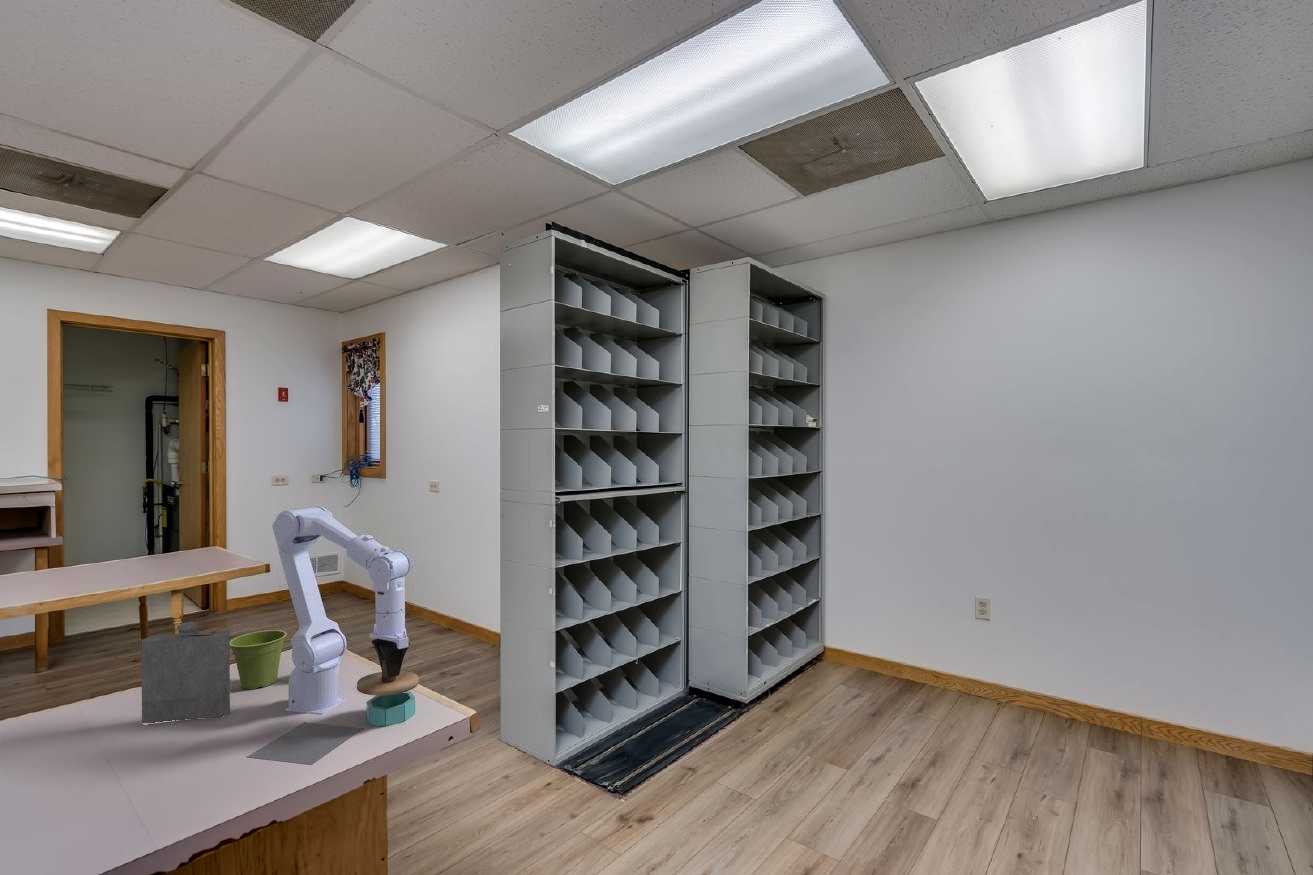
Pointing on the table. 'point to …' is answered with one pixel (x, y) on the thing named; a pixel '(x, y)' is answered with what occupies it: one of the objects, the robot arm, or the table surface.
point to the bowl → (390, 709)
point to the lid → (387, 683)
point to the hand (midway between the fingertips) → (390, 673)
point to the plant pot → (258, 657)
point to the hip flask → (185, 675)
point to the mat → (306, 743)
